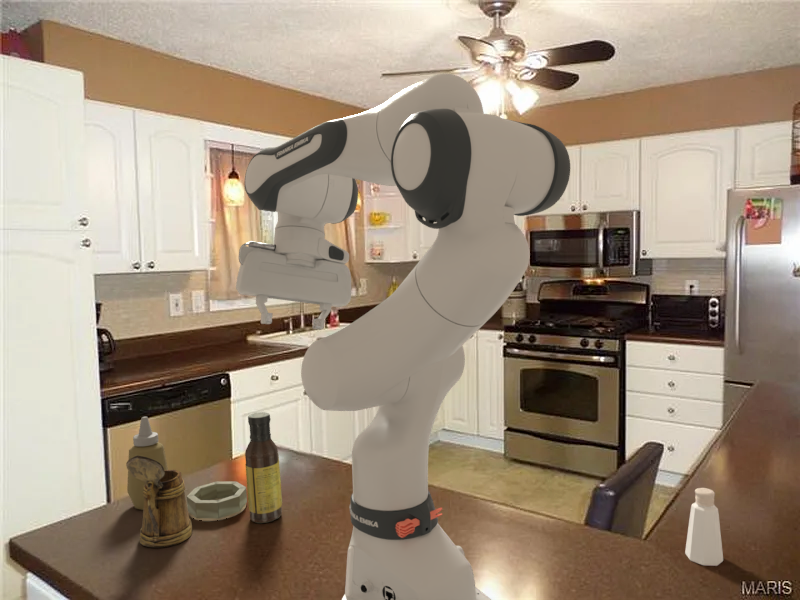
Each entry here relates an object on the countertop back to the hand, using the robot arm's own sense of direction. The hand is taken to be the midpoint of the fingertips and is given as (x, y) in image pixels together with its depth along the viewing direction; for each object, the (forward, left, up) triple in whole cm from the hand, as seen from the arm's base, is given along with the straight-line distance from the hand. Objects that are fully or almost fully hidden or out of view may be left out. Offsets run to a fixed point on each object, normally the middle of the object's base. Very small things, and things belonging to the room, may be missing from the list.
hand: (292, 326), depth 104 cm
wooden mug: (+15, +20, -38) cm, 45 cm away
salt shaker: (-52, -42, -37) cm, 77 cm away
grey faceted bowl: (+21, +6, -37) cm, 43 cm away
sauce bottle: (+11, +1, -37) cm, 39 cm away
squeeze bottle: (+33, +15, -37) cm, 52 cm away
